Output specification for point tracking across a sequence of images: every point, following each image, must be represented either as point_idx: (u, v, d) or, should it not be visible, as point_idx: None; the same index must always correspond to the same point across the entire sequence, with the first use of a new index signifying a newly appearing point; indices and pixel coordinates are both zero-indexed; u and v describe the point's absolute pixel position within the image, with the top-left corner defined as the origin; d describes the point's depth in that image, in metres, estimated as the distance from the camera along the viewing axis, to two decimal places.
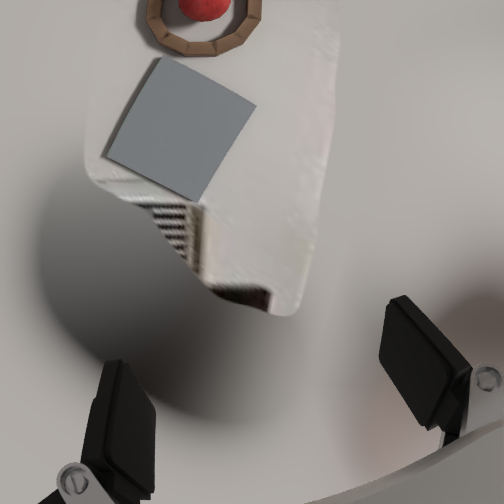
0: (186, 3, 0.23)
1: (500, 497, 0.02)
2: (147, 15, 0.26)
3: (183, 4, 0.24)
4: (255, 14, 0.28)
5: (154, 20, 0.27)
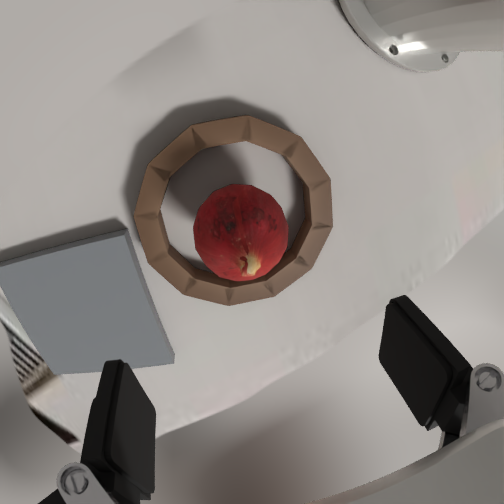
0: (205, 235, 0.17)
1: (500, 497, 0.02)
2: (156, 158, 0.18)
3: (201, 227, 0.17)
4: (276, 285, 0.24)
5: (157, 177, 0.19)
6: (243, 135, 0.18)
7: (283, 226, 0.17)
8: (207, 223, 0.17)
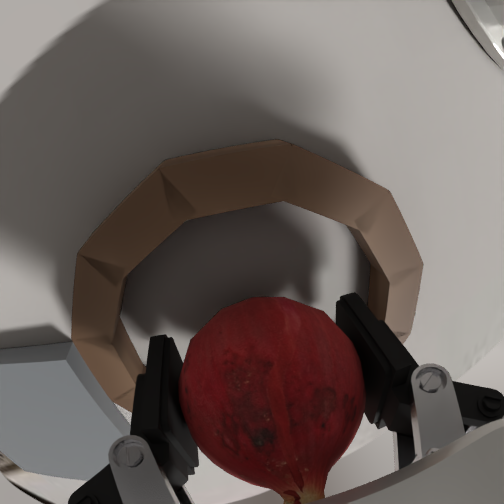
0: (204, 433, 0.07)
1: (500, 497, 0.02)
2: (93, 241, 0.08)
3: (193, 412, 0.07)
4: None
5: (100, 277, 0.09)
6: (279, 190, 0.09)
7: (363, 395, 0.07)
8: (208, 413, 0.07)
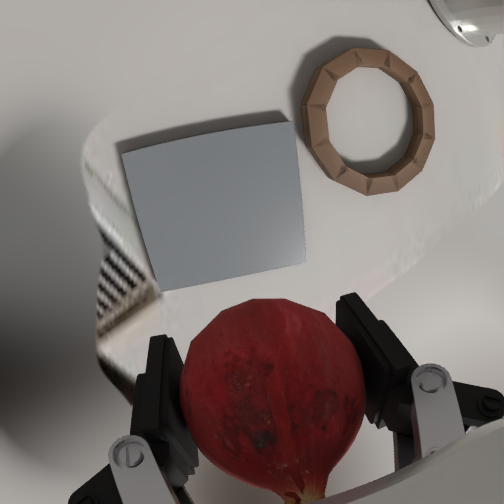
0: (205, 435, 0.07)
1: (500, 497, 0.02)
2: (329, 64, 0.21)
3: (194, 414, 0.07)
4: (400, 181, 0.26)
5: (329, 77, 0.21)
6: (385, 62, 0.21)
7: (364, 397, 0.07)
8: (208, 415, 0.07)
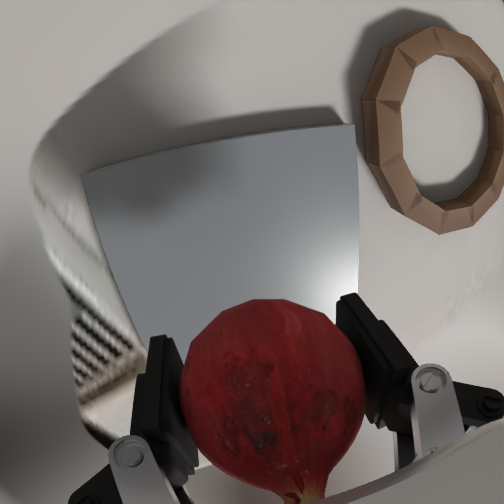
0: (205, 435, 0.07)
1: (500, 497, 0.02)
2: (404, 43, 0.12)
3: (194, 414, 0.07)
4: (476, 213, 0.18)
5: (404, 63, 0.13)
6: (468, 52, 0.12)
7: (364, 398, 0.07)
8: (208, 415, 0.07)
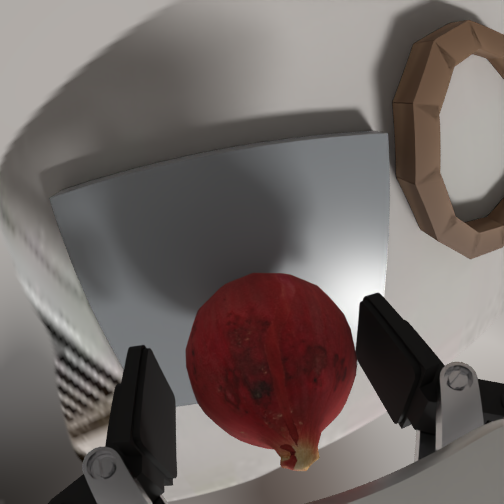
0: (208, 391, 0.08)
1: (500, 497, 0.02)
2: (442, 38, 0.09)
3: (199, 371, 0.08)
4: None
5: (443, 60, 0.10)
6: None
7: (354, 360, 0.09)
8: (212, 370, 0.08)
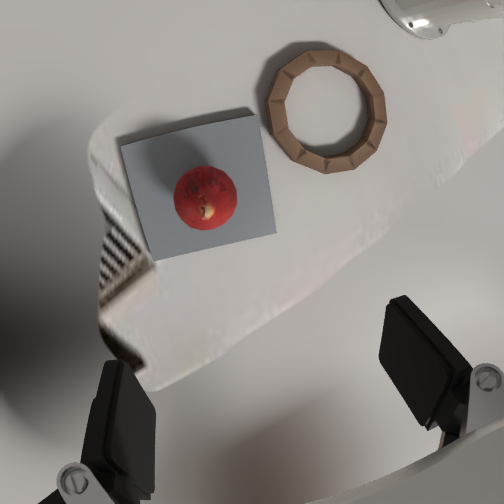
0: (179, 197, 0.25)
1: (500, 497, 0.02)
2: (286, 66, 0.26)
3: (177, 193, 0.26)
4: (356, 160, 0.32)
5: (286, 77, 0.27)
6: (336, 61, 0.27)
7: (231, 189, 0.26)
8: (181, 189, 0.25)
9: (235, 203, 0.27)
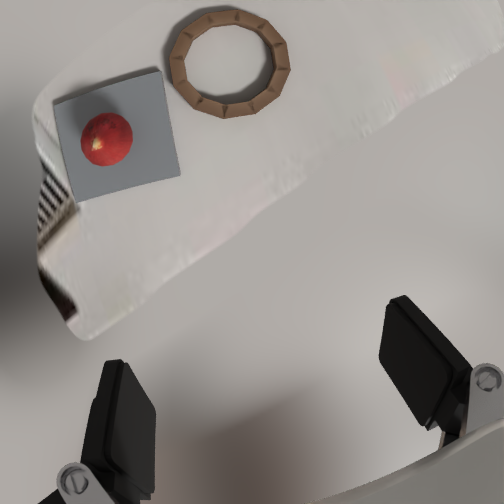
0: (82, 137, 0.26)
1: (500, 497, 0.02)
2: (186, 28, 0.27)
3: (82, 134, 0.26)
4: (256, 105, 0.33)
5: (186, 37, 0.28)
6: (235, 18, 0.27)
7: (122, 128, 0.27)
8: (84, 130, 0.26)
9: (126, 140, 0.28)
